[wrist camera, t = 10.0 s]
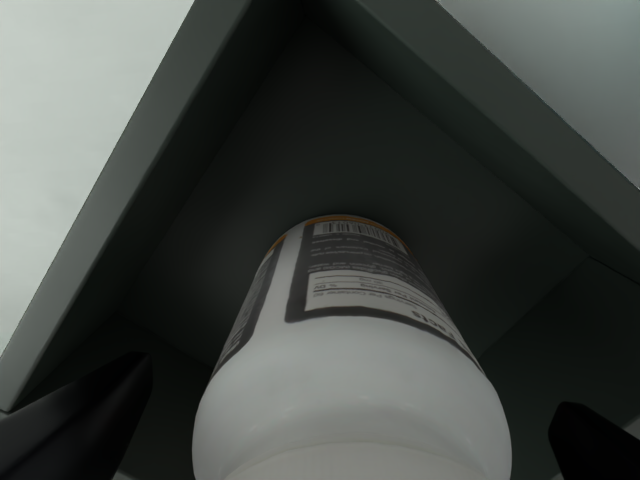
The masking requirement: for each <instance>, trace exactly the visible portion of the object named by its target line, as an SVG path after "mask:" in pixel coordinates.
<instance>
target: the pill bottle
mask: <svg viewBox="0 0 640 480" xmlns="http://www.w3.org/2000/svg"><path fill="white" fill-rule="evenodd" d="M192 462H193V470H194V475H195V479H196V480H510V475H511V466H512V449H511V439H510V433H509V428H508V424H507V420H506V417H505V414H504V410H503V407H502V405H501V402H500V400H499V397H498V394H497V392H496V390H495V389H494V387H493V385H492V384H491V382H490V381H489V380H488V378H487V377H486V375H485V373H484V371H483V370H482V368H481V367H480V365H479V363H478V362H477V360H476V358H475V357H474V356H473V354H472V353H471V351H470V349H469V348H468V346H467V344H466V343H465V341H464V340H463V338H462V336H461V334H460V332H459V331H458V329H457V328H456V326H455V324H454V323H453V321H452V319H451V318H450V316H449V314H448V313H447V311H446V309H445V307H444V306H443V304H442V303H441V301H440V299H439V298H438V296H437V294H436V292H435V291H434V289H433V287H432V285H431V283H430V281H429V280H428V278H427V277H426V275H425V274H424V272H423V270H422V268H421V267H420V265H419V263H418V262H417V260H416V259H415V257H414V256H413V254H412V252H411V251H410V249H409V248H408V247H407V246H406V244H405V243H404V242H403V241H402V240H401V239H400V238H399V237H398V236H397V235H396V234H395V233H393V232H392V231H391V230H389V229H388V228H386V227H385V226H383V225H381V224H379V223H377V222H375V221H372V220H370V219H367V218H363V217H360V216H355V215H347V214H333V215H325V216H319V217H315V218H312V219H309V220H306V221H303V222H302V223H300V224H298V225H296V226H294V227H293V228H291V229H289V230H288V231H287V232H285V233H284V234H283V235H282V236H281V237H280V238H279V239H278V240H277V241H276V242H275V243H274V244H273V245H272V247H271V248H270V250H269V251H268V252H267V254H266V256H265V257H264V259H263V261H262V263H261V265H260V266H259V268H258V270H257V273H256V275H255V278H254V280H253V282H252V285H251V287H250V289H249V292H248V294H247V296H246V298H245V300H244V303H243V305H242V307H241V309H240V311H239V314H238V316H237V318H236V321H235V323H234V325H233V328H232V330H231V332H230V334H229V336H228V338H227V340H226V343H225V345H224V347H223V350H222V352H221V355H220V357H219V359H218V361H217V364H216V366H215V368H214V370H213V373H212V375H211V378H210V380H209V382H208V384H207V387H206V389H205V391H204V394H203V396H202V398H201V401H200V403H199V407H198V411H197V413H196V418H195V423H194V431H193V441H192Z"/></svg>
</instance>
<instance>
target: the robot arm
mask: <svg viewBox="0 0 640 480" xmlns="http://www.w3.org/2000/svg"><path fill="white" fill-rule="evenodd" d="M152 388H153V368H152V357H151V355H150V354H149V353H146V352H138V351H130V352H128V353H126V354H124V355H122V356H120V357H118V358H117V359H115V360H113V361H111V362H109V363H107V364H105V365H103V366H101V367H99V368H98V369H96V370H94V371H92V372H90V373H88V374H86V375H84V376H82V377H81V378H79V379H77V380H75V381H73V382H71V383H69V384H67V385H65V386H63V387H62V388H60V389H58V390H56V391H54V392H52V393H50V394H48V395H46V396H44V397H43V398H41V399H39V400H37V401H35V402H33V403H31V404H29V405H27V406H26V407H24V408H22V409H20V410H18V411H16V412H14V413H12V414H10V415H8V416H7V417H5V418H3V419H1V420H0V480H112V479H113V477H114V475H115V473H116V471H117V470H118V468H119V466H120V464H121V461H122V459H123V457H124V455H125V453H126V450H127V448H128V446H129V444H130V441H131V439H132V437H133V434H134V432H135V430H136V428H137V425H138V423H139V421H140V418H141V416H142V414H143V411H144V409H145V407H146V405H147V402H148V400H149V398H150V395H151V392H152ZM548 440H549V443H550V446H551V448H552V451H553V453H554V456H555V458H556V461H557V464H558V466H559V469H560V471H561V474H562V476H563V479H564V480H640V440H639V439H637V438H636V437H634V436H633V435H631V434H630V433H628V432H627V431H625V430H623V429H622V428H620V427H619V426H617V425H616V424H614V423H612V422H611V421H609V420H608V419H606V418H605V417H603V416H601V415H600V414H598V413H597V412H595V411H594V410H592V409H590V408H589V407H587V406H586V405H584V404H582V403H577V402H568V401H563V402H561V403H560V404H559V405H558V406H557V409H556V411H555V414H554V416H553V418H552V421H551V423H550V425H549V428H548Z"/></svg>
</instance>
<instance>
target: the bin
mask: <svg viewBox="0 0 640 480" xmlns="http://www.w3.org/2000/svg"><path fill="white" fill-rule="evenodd" d="M333 214H347V215H355V216H360V217H363V218H367V219H370V220H372V221H375V222H377V223H379V224H381V225H383V226H385V227H386V228H388V229H389V230H391V231H392V232H393V233H395V234H396V235H397V236H398V237H399V238H400V239H401V240H402V241H403V242H404V243H405V244H406V246H407V247H408V248H409V249H410V251H411V252H412V254H413V256H414V257H415V259H416V260H417V262H418V263H419V265H420V267H421V268H422V270H423V272H424V274H425V275H426V277H427V278H428V280H429V281H430V283H431V285H432V287H433V289H434V291H435V292H436V294H437V296H438V298H439V299H440V301H441V303H442V304H443V306H444V307H445V309H446V311H447V313H448V314H449V316H450V318H451V319H452V321H453V323H454V324H455V326H456V328H457V329H458V331H459V332H460V334H461V336H462V338H463V340H464V341H465V343H466V344H467V346H468V348H469V349H470V351H471V353H472V354H473V356H474V357H475V358H476V360H477V362H478V363H479V365H480V367H481V368H482V370H483V371H484V373H485V375H486V377H487V378H488V380H489V381H490V382H491V384H492V385H493V387H494V389H495V390H496V392H497V394H498V397H499V400H500V402H501V405H502V407H503V410H504V414H505V417H506V420H507V424H508V428H509V433H510V439H511V449H512V466H511V475H510V480H564V479H563V476H562V474H561V471H560V469H559V466H558V464H557V461H556V458H555V456H554V453H553V451H552V448H551V446H550V443H549V440H548V428H549V425H550V423H551V421H552V418H553V416H554V414H555V411H556V409H557V406H558V405H559V404H560V403H561V402H563V401H568V402H577V403H582V404H584V405H586V406H587V407H589V408H590V409H592V410H594V411H595V412H597V413H598V414H600V415H601V416H603V417H605V418H606V419H608V420H609V421H611V422H612V423H614V424H616V425H617V426H619V427H620V428H622V429H623V430H625V431H627V432H628V433H630V434H631V435H633V436H634V437H636V438H637V439H639V440H640V190H639V189H638V188H637V187H636V186H634V185H633V184H632V183H631V182H630V181H629V180H628V179H627V178H626V177H625V176H624V175H623V174H622V173H620V172H619V171H618V170H617V169H616V168H615V167H614V166H613V165H612V164H611V163H610V162H609V161H608V160H606V159H605V158H604V157H603V156H602V155H601V154H600V153H599V152H598V151H597V150H596V149H595V148H594V147H592V146H591V145H590V144H589V143H588V142H587V141H586V140H585V139H584V138H583V137H582V136H581V135H580V134H578V133H577V132H576V131H575V130H574V129H573V128H572V127H571V126H570V125H569V124H568V123H567V122H566V121H564V120H563V119H562V118H561V117H560V116H559V115H558V114H557V113H556V112H555V111H554V110H553V109H552V108H550V107H549V106H548V105H547V104H546V103H545V102H544V101H543V100H542V99H541V98H540V97H539V96H538V95H536V94H535V93H534V92H533V91H532V90H531V89H530V88H529V87H528V86H527V85H526V84H525V83H524V82H522V81H521V80H520V79H519V78H518V77H517V76H516V75H515V74H514V73H513V72H512V71H511V70H509V69H508V68H507V67H506V66H505V65H504V64H503V63H502V62H501V61H500V60H499V59H498V58H497V57H495V56H494V55H493V54H492V53H491V52H490V51H489V50H488V49H487V48H486V47H485V46H484V45H483V44H481V43H480V42H479V41H478V40H477V39H476V38H475V37H474V36H473V35H472V34H471V33H470V32H469V31H467V30H466V29H465V28H464V27H463V26H462V25H461V24H460V23H459V22H458V21H457V20H456V19H455V18H453V17H452V16H451V15H450V14H449V13H448V12H447V11H446V10H445V9H444V8H443V7H442V6H441V5H439V4H438V3H437V2H436V1H435V0H195V1H194V3H193V5H192V6H191V8H190V10H189V12H188V14H187V16H186V17H185V19H184V21H183V23H182V25H181V27H180V28H179V30H178V32H177V34H176V36H175V38H174V40H173V41H172V43H171V45H170V47H169V49H168V51H167V52H166V54H165V56H164V58H163V60H162V62H161V63H160V65H159V67H158V69H157V71H156V73H155V74H154V76H153V78H152V80H151V82H150V84H149V85H148V87H147V89H146V91H145V93H144V95H143V96H142V98H141V100H140V102H139V104H138V106H137V108H136V109H135V111H134V113H133V115H132V117H131V119H130V120H129V122H128V124H127V126H126V128H125V130H124V131H123V133H122V135H121V137H120V139H119V141H118V142H117V144H116V146H115V148H114V150H113V152H112V153H111V155H110V157H109V159H108V161H107V163H106V164H105V166H104V168H103V170H102V172H101V174H100V176H99V177H98V179H97V181H96V183H95V185H94V187H93V188H92V190H91V192H90V194H89V196H88V198H87V199H86V201H85V203H84V205H83V207H82V209H81V210H80V212H79V214H78V216H77V218H76V220H75V221H74V223H73V225H72V227H71V229H70V231H69V232H68V234H67V236H66V238H65V240H64V242H63V244H62V245H61V247H60V249H59V251H58V253H57V255H56V256H55V258H54V260H53V262H52V264H51V266H50V267H49V269H48V271H47V273H46V275H45V277H44V278H43V280H42V282H41V284H40V286H39V288H38V289H37V291H36V293H35V295H34V297H33V299H32V300H31V302H30V304H29V306H28V308H27V310H26V311H25V313H24V315H23V317H22V319H21V321H20V323H19V324H18V326H17V328H16V330H15V332H14V334H13V335H12V337H11V339H10V341H9V343H8V345H7V346H6V348H5V350H4V352H3V354H2V356H1V357H0V420H1V419H3V418H5V417H7V416H8V415H10V414H12V413H14V412H16V411H18V410H20V409H22V408H24V407H26V406H27V405H29V404H31V403H33V402H35V401H37V400H39V399H41V398H43V397H44V396H46V395H48V394H50V393H52V392H54V391H56V390H58V389H60V388H62V387H63V386H65V385H67V384H69V383H71V382H73V381H75V380H77V379H79V378H81V377H82V376H84V375H86V374H88V373H90V372H92V371H94V370H96V369H98V368H99V367H101V366H103V365H105V364H107V363H109V362H111V361H113V360H115V359H117V358H118V357H120V356H122V355H124V354H126V353H128V352H130V351H138V352H146V353H149V354H150V355H151V357H152V368H153V388H152V392H151V395H150V398H149V400H148V402H147V405H146V407H145V409H144V411H143V414H142V416H141V418H140V421H139V423H138V425H137V428H136V430H135V432H134V434H133V437H132V439H131V441H130V444H129V446H128V448H127V450H126V453H125V455H124V457H123V459H122V461H121V464H120V466H119V468H118V470H117V471H116V473H115V475H114V477H113V479H112V480H196V479H195V475H194V470H193V462H192V441H193V431H194V423H195V418H196V413H197V411H198V407H199V403H200V401H201V398H202V396H203V394H204V391H205V389H206V387H207V384H208V382H209V380H210V378H211V375H212V373H213V370H214V368H215V366H216V364H217V361H218V359H219V357H220V355H221V352H222V350H223V347H224V345H225V343H226V340H227V338H228V336H229V334H230V332H231V330H232V328H233V325H234V323H235V321H236V318H237V316H238V314H239V311H240V309H241V307H242V305H243V303H244V300H245V298H246V296H247V294H248V292H249V289H250V287H251V285H252V282H253V280H254V278H255V275H256V273H257V270H258V268H259V266H260V265H261V263H262V261H263V259H264V257H265V256H266V254H267V252H268V251H269V250H270V248H271V247H272V245H273V244H274V243H275V242H276V241H277V240H278V239H279V238H280V237H281V236H282V235H283V234H284V233H285V232H287V231H288V230H289V229H291V228H293V227H294V226H296V225H298V224H300V223H302V222H303V221H306V220H309V219H312V218H315V217H319V216H325V215H333Z"/></svg>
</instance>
